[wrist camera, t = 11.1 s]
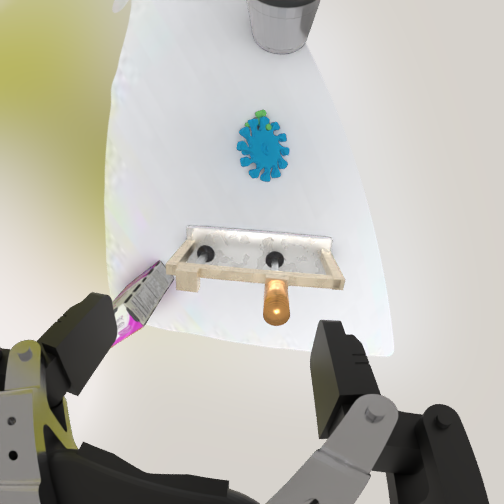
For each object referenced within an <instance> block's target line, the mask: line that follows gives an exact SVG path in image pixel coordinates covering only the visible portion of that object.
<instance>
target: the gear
mask: <svg viewBox="0 0 504 504" xmlns="http://www.w3.org/2000/svg"><path fill="white" fill-rule="evenodd" d="M255 115H256V118H254V119H251V120H248V123H245V126H246V127H244V128H242V129H241V130H240V131H239V133H240V135H241V136H243V137H244V138H245V139H246V140H247V142H248V144H249V147H248V146H247V144H246V143H245V142H244V141H241V142H238V144H237V150H238V151H242V154H243V155H248V154H250V156H251V158H250V159H249V158H248V157H243V158H241V159H240V162H241V166H242V167H245V166H249V165H250V164H251V163H255V164H256V169H251V170H250V171H249V175H250V176H251V177H252V178H258V176H259V173H260V171H261V170H262V169H263V168H264V170H265V171H264V173H263V174H262V175H261V176H260V179H261V180H262V181H265V182H269V181H270V170H271V168H272V172H271V177H272V178H278V177H280V176H281V173H280V171H279V169H278V166H279V168H280V169H285V168H286V167H287V165H288V163H287V162H286V161H285V160H284V159H283V158H282V156H281V154H282V155H283V156H285V155H288V154H289V148H288V147H282V146H281V145H280V144H279V142H278V140H279V141H280V142H283V141H286V140H287V138H286V134H285V133H283V134H279V135H278V136H275V135H274V134H273V131H275V130H279V129H280V126H279V125H278V123H277V122H274V123H271V125H270V124H268V123H269V121H270V120H269V119H268V118H267V117H265V116H266V111H265V110H260V111H257V112H256V113H255ZM263 116H264V117H263ZM248 127H251V131H252V137H251V136H250V129H249V128H248ZM280 152H281V154H280Z"/></svg>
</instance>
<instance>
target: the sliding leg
mask: <svg viewBox="0 0 504 504" xmlns="http://www.w3.org/2000/svg"><path fill="white" fill-rule="evenodd" d="M271 270H272V271H279V270H278V258H272V263H271ZM288 283H289V276H285V275H273V274H266V278H265V288H264V310H263V317H264V320H265V321H266V322H267V323H268V324H270V325H274V326H279V325H282V324H284V323H286V322H287V321H288V319H289V317H290V310H289V299H288Z"/></svg>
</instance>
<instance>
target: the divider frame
mask: <svg viewBox="0 0 504 504" xmlns="http://www.w3.org/2000/svg"><path fill="white" fill-rule="evenodd" d="M332 241H333V240H332V238H331V237H323V236H312V235H302V234H291V233H280V232H268V231H256V230H244V229H232V228H219V227H206V226H192V225H189V226H188V227H187V228H186V241H185V242H184V243H183V244H182V246H181V247H180V248H179V249H178V250H177V251H176V252H175V254H174V255H173V256H172V257H171V258H170V259H169V261H168V262H167V263H166V274H168V275H176V290H181V291H190V292H198V290H199V288H200V277H201V278H211V279H221V280H231V281H242V282H253V283H264V284H265V278H266V274H273V275H285V276H289V283H288V286H301V287H315V288H330V289H335V290H343V288H344V283H345V278H344V276H343V274H342V273H341V271H340V269H339V267H338V265H337V263H336V261H335V259H334V257H333V255H332V254H331V247H332ZM272 258H278V270H279V271H272V270H271V263H272ZM186 262H187V263H186Z"/></svg>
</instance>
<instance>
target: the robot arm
mask: <svg viewBox="0 0 504 504" xmlns="http://www.w3.org/2000/svg"><path fill="white" fill-rule="evenodd" d="M319 3H320V0H247V5H248V10H249V16H250V21H251V27H252V32H253V37H254V39H255V41H256V43H257V44H258V45H259V46H260V47H261V48H263V49H265V50H266V51H269V52H272V53H276V54H287V53H292V52H295V51H297V50H298V49H300V48H301V47H302V46H303V45H304V44H305V42H306V40H307V37H308V34H309V32H310V29H311V26H312V23H313V20H314V17H315V14H316V11H317V9H318V6H319ZM116 338H117V324H116V319H115V314H114V310H113V305H112V300H111V298H110V296H108V295H104V294H99V293H94V292H92V293H90V294H89V295H88V296H87V297H86V298H85V299H84V300H83V301H82V302H80V303H78V304H76V305H74V306H72V307H71V308H70V309H69V310H68V311H66V312H65V313H64V314H63V316H62V317H60V318H59V319H58V321H57V322H55V323H54V324H53V325H52V326H51V327H50V328H49V329H48V330H47V331H46V332H45V333H44V334H43V335H42V336H41V338H39V340H37V342H36V341H34V340H24V341H21V342H19V343H17V344H16V345H14V346H13V347H12V349H11V350H10V349H2V348H0V504H260V503H258V502H257V501H255V500H254V499H252V498H250V497H248V496H246V495H244V494H242V493H240V492H237V491H234V490H231V489H229V481H227V480H219V479H212V478H205V477H200V476H194V475H188V474H185V475H183V474H182V475H181V474H150V473H146V472H143V471H141V470H140V469H138V468H136V467H134V466H133V465H131V464H129V463H128V462H126V461H124V460H123V459H121V458H119V457H118V456H116V455H115V454H113V453H110V452H107V451H105V450H102V449H100V448H97V447H94V446H92V445H90V444H88V443H85V442H83V443H82V445H81V447H80V449H78V448H77V446H76V444H75V442H74V439H73V436H72V430H71V425H70V420H69V414H68V407H67V401H66V398H65V397H64V395H65V394H66V392H69V393H72V394H74V395H77V396H78V395H79V394H80V392H81V391H82V389H83V387H84V386H85V385H86V383H87V381H88V380H89V379H90V377H91V376H92V374H93V373H94V371H95V370H96V368H97V367H98V365H99V364H100V362H101V361H102V359H103V358H104V356H105V355H106V354H107V352H108V351H109V349H110V348H111V346H112V345H113V344H114V342H115V340H116ZM310 370H311V377H312V385H313V392H314V400H315V408H316V416H317V425H318V434H319V439H328V440H327V441H326V442H325V443H324V445H323V446H322V447H321V448H320V449H318V450H316V451H315V452H314V453H313V455H312V456H311V457H310V458H309V459H308V460H307V461H306V462H305V464H304V465H303V466H302V467H301V468H300V469H299V470H298V471H297V473H296V474H295V475H294V476H293V477H292V478H291V479H290V480H289V481H288V482H287V483H286V484H285V485H284V486H283V487H282V488H281V489H280V490H279V491H278V492H277V493H276V494H275V495H274V496H273V497H272V498H271V499H270V500H269V501H268V502H267V503H266V504H354V503H355V501H356V500H357V498H358V497H359V495H360V494H361V492H362V491H363V489H364V488H365V486H366V484H367V483H368V481H369V479H370V477H371V475H370V472H371V470H372V471H380V472H386V477H387V483H388V490H389V498H390V504H489V501H488V498H487V494H486V490H485V487H484V483H483V480H482V477H481V473H480V471H479V467H478V465H477V461H476V458H475V456H474V453H473V450H472V447H471V445H470V442H469V440H468V437H467V434H466V432H465V429H464V427H463V424H462V422H461V420H460V417H459V416H458V414H457V412H456V411H455V410H453V409H452V408H450V407H449V406H446V405H443V404H435V405H432V406H430V407H429V408H428V409H427V410H426V411H425V412H424V414H423V415H421V414H413V413H406V412H401V411H398V410H397V408H396V406H395V404H394V403H393V402H392V401H391V400H389V399H388V398H386V397H384V396H382V395H381V394H380V391H379V389H378V385H377V383H376V380H375V377H374V374H373V372H372V369H371V366H370V365H369V361H368V359H367V356H366V353H365V351H364V348H363V345H362V343H361V342H360V341H359V340H358V339H357V338H356V337H355V336H354V335H346V334H345V331H344V328H343V326H342V323H341V321H332V320H320V321H319V323H318V327H317V331H316V335H315V340H314V344H313V348H312V352H311V358H310Z"/></svg>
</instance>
